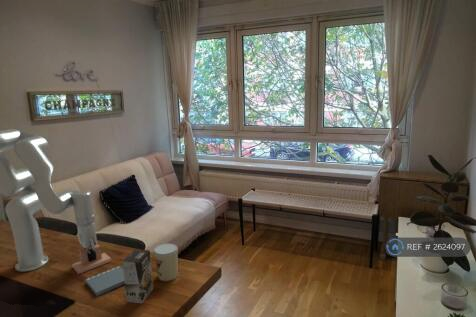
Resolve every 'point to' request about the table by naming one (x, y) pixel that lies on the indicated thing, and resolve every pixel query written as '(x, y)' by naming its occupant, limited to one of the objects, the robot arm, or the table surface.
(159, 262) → the coffee cup
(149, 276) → the coffee box
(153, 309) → the table surface
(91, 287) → the light blue box
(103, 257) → the pink stepped block
